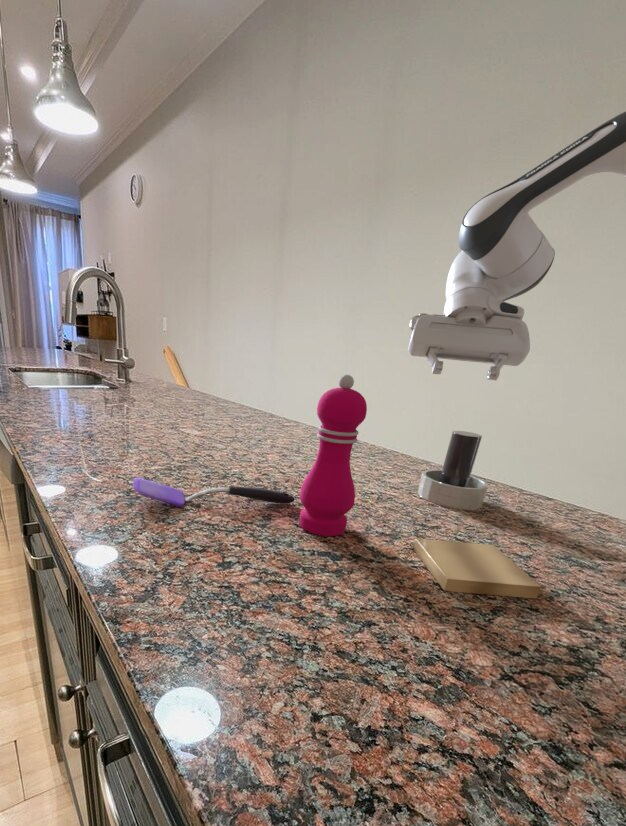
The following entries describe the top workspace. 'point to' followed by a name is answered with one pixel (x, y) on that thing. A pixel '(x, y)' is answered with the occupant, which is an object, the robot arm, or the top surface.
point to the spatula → (179, 499)
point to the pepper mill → (333, 461)
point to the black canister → (460, 458)
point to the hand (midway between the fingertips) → (464, 374)
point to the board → (474, 569)
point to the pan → (452, 491)
